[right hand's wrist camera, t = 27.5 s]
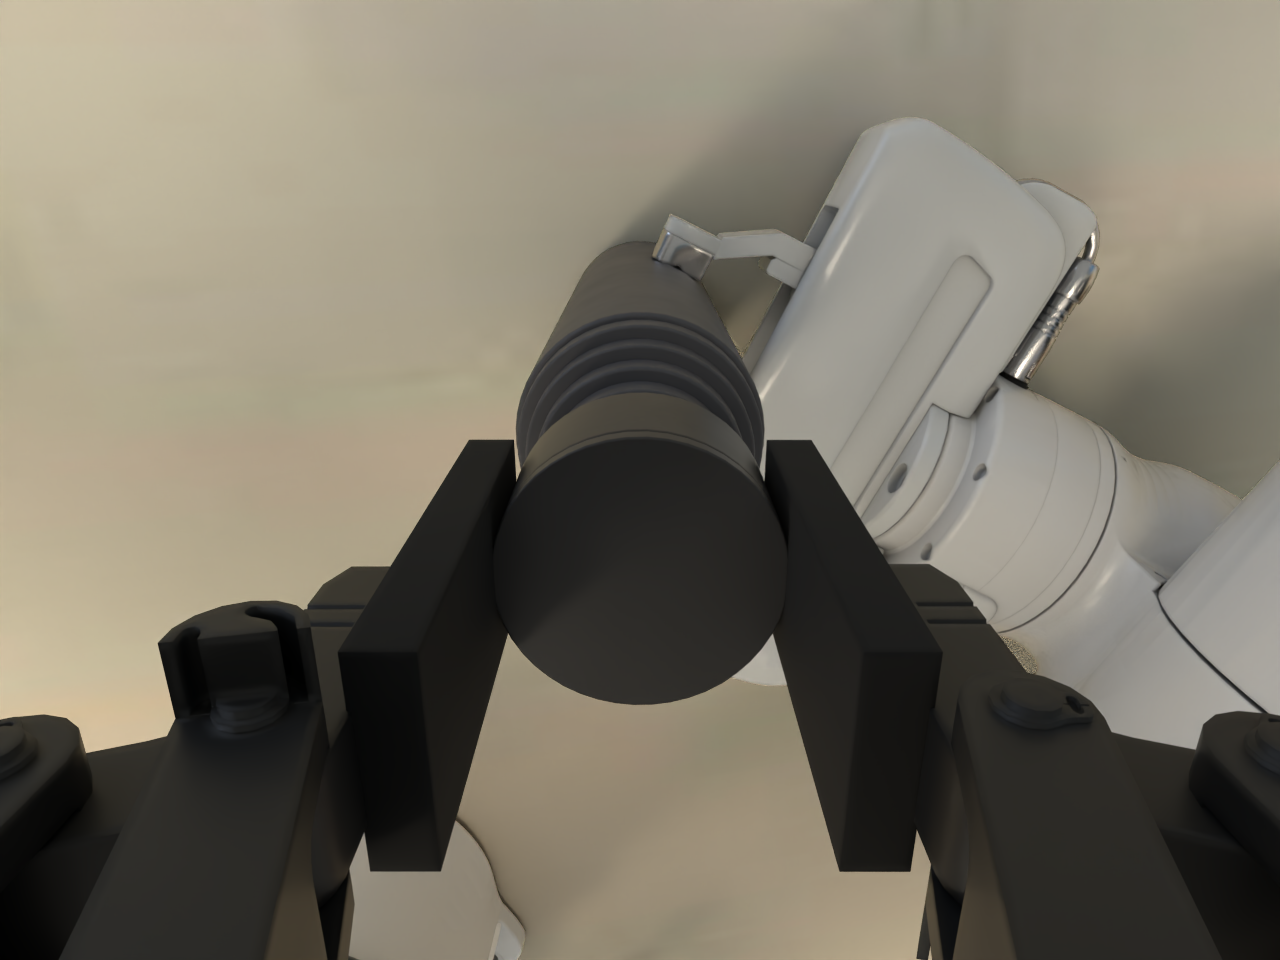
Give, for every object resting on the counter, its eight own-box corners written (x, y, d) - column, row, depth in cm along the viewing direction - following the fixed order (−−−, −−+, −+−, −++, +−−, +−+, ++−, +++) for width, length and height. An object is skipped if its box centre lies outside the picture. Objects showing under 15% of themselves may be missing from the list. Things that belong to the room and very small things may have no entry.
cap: (632, 666, 15) (631, 753, 13) (462, 506, 14) (427, 571, 12) (817, 521, 14) (851, 588, 12) (648, 336, 13) (650, 372, 11)
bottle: (599, 391, 36) (537, 744, 14) (554, 266, 34) (402, 449, 12) (722, 351, 35) (857, 655, 13) (683, 222, 33) (765, 331, 12)
